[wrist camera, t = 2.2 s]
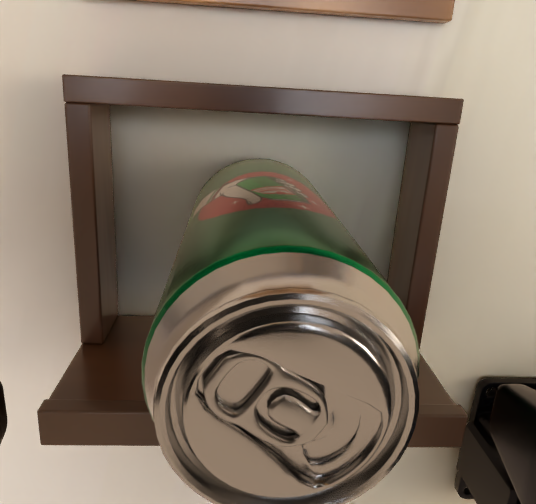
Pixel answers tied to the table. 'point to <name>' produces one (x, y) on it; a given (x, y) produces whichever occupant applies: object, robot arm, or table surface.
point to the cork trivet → (345, 7)
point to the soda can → (278, 349)
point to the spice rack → (137, 327)
